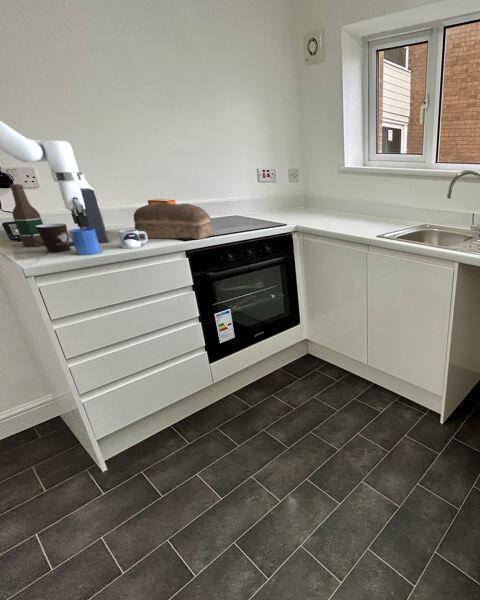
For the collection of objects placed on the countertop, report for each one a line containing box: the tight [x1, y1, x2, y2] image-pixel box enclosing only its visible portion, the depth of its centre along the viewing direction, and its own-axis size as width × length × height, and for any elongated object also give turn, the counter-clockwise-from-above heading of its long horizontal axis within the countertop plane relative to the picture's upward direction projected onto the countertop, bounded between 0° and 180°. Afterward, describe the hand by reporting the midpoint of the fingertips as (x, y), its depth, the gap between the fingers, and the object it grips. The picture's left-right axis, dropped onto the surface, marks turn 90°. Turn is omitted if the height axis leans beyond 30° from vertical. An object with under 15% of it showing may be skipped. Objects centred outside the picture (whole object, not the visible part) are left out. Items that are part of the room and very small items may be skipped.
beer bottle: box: [9, 183, 46, 248], centre depth 141 cm, size 8×8×24 cm
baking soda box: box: [147, 198, 177, 205], centre depth 179 cm, size 10×6×16 cm
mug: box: [117, 228, 149, 249], centre depth 148 cm, size 10×7×7 cm, turn 147°
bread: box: [133, 203, 214, 240], centre depth 167 cm, size 15×32×16 cm, turn 93°
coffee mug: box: [31, 222, 71, 254], centre depth 135 cm, size 12×9×10 cm
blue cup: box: [69, 227, 102, 256], centre depth 135 cm, size 7×7×9 cm
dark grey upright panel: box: [68, 188, 109, 247], centre depth 148 cm, size 16×12×22 cm
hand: (82, 225), depth 133 cm, fingers open, 9 cm apart
